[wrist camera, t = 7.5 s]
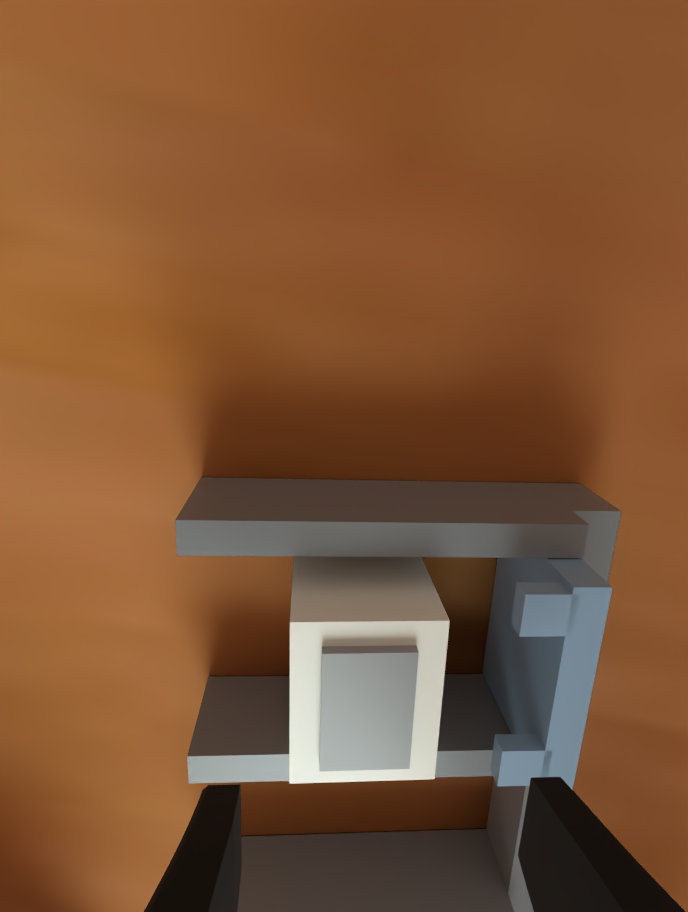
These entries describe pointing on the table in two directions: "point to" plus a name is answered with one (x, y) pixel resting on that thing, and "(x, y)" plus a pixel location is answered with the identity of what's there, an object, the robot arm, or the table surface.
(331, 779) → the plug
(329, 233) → the table surface
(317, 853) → the e-shaped shelf rack
